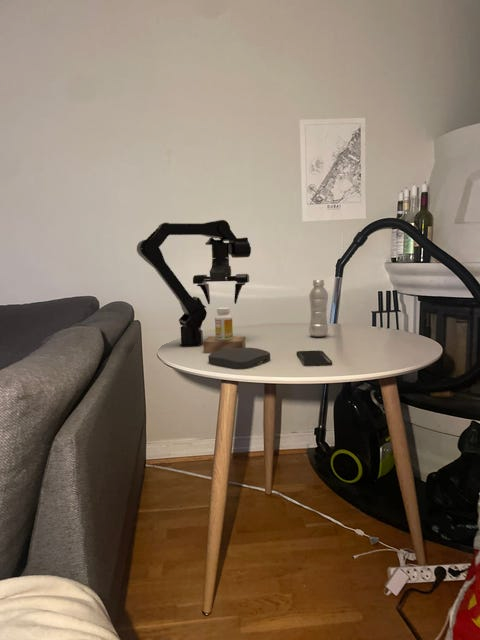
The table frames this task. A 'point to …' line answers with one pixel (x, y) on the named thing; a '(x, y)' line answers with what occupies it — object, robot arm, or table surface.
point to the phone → (314, 358)
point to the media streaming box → (239, 357)
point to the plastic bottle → (318, 309)
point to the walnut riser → (223, 344)
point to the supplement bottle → (223, 324)
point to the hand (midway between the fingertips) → (222, 304)
